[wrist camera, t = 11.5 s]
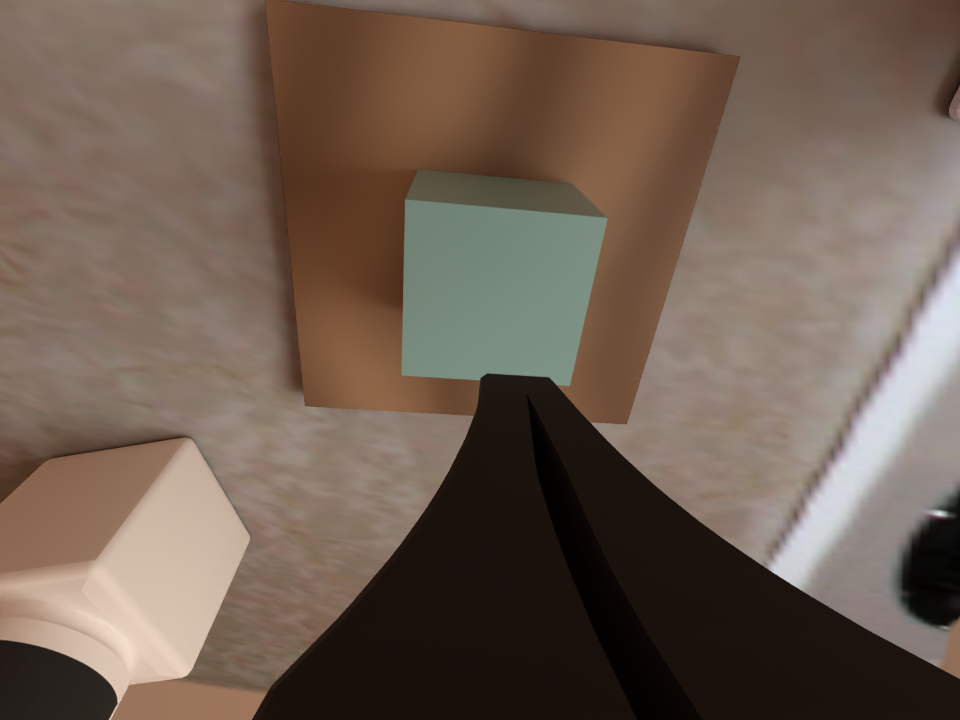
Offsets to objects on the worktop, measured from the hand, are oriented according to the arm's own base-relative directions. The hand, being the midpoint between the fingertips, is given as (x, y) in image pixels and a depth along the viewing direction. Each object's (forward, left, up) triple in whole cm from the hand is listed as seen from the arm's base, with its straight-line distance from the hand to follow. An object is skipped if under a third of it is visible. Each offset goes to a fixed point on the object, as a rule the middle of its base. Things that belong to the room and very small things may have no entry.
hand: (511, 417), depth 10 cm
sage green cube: (0, 0, -9) cm, 9 cm away
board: (0, 0, -10) cm, 10 cm away
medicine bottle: (+15, +14, -11) cm, 23 cm away
